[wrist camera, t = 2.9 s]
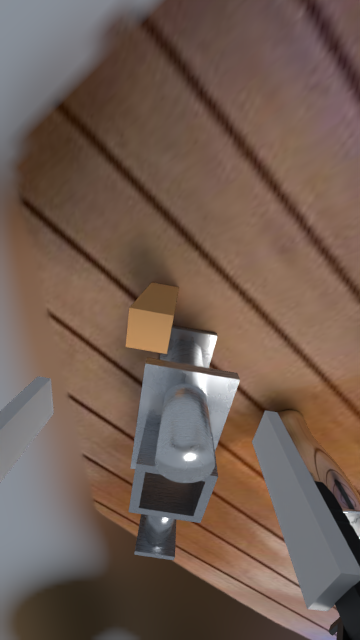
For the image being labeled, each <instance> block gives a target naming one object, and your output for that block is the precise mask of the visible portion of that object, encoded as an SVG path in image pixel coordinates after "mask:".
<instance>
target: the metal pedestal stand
mask: <svg viewBox="0 0 360 640" xmlns="http://www.w3.org/2000/svg"><path fill="white" fill-rule="evenodd" d="M216 339H217V333H212V332H206V331H201V330H195V329H190V328H184V327H179V326H173V325H172V329H171V334H170V340H169V345H168V350H167V354H164V353H161V354H160V359H154V358H148V357H147V360H146V363H145V370H144V377H143V384H142V391H141V398H140V405H139V413H138V420H137V427H136V434H135V441H134V448H133V455H132V462H131V468H132V469H135V468H136V462H137V458H138V453H139V449H140V445H141V441H142V436H143V432H144V428H145V423H146V422H148V423H154V424H160V430H159V437H158V444H157V450H156V457H155V466H156V468H157V470H158V471H159V473H160V474H161V475H163V476H164V477H165V478H167V479H169V480H172V481H175V482H179V483H194V482H198V481H201V480H203V479H205V478H207V477H208V476H209V475H210V474H211V473H212V472H213V470H214V467H215V459H214V451H213V443H212V434H213V441H214V449H216V447H217V444H218V441H219V438H220V435H221V432H222V429H223V427H224V424H225V421H226V418H227V415H228V412H229V409H230V407H231V404H232V401H233V398H234V395H235V392H236V389H237V387H238V384H239V381H240V379H239V377H238V374H237V373H234V372H228V371H222V370H217V369H211V368H209V365H210V361H211V358H212V354H213V350H214V347H215V343H216ZM211 433H212V434H211Z"/></svg>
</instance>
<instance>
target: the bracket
mask: <svg viewBox="0 0 360 640" xmlns="http://www.w3.org/2000/svg"><path fill="white" fill-rule="evenodd" d="M159 430H160V424H154V423H148V422H146V423H145V428H144V432H143V436H142V441H141V445H140V449H139V453H138V458H137V462H136V468H135V474H134V481H133V487H132V494H131V500H130V507H129V512H132V513H138V514H141V519H140V524H139V530H138V536H137V542H136V548H135V555H143V556H149V557H156V558H163V559H169V560H174V558H175V538H176V519H178V520H185V521H191V522H198V523H200V522H201V520H202V517H203V514H204V512H205V509H206V507H207V504H208V501H209V499H210V496H211V494H212V491H213V488H214V486H215V483H216V481H217V478H218V473H217V465H216V457H215V449H214V441H213V434H212V433H211V434H212V443H213V451H214V459H215V467H214V470H213V472H212V473H211V474H210V475H209V476H208V477H207V478H205V479H203V480H201V481H198V482H194V483H179V482H175V481H172V480H169V479H167V478H165V477H164V476H163V475H161V474H160V473H159V471H158V470H157V468H156V466H155V457H156V450H157V444H158V437H159Z"/></svg>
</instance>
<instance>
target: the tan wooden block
mask: <svg viewBox="0 0 360 640" xmlns="http://www.w3.org/2000/svg"><path fill="white" fill-rule="evenodd" d="M178 291H179V287H174V286H169V285H163V284H158V283H153V282H152V283H151V284H150V285H149V286H148V287H147V288H146V289H145V290H144V292H143V293H142V294H141V295H140V296H139V297H138V298H137V300H136V301H135V302H134V303H133V304H132V305H131V306H130V308H129V317H128V327H127V338H126V347H130V348H135V349H141V350H147V351H152V352H158V353H164V354H167V350H168V345H169V340H170V334H171V329H172V324H173V318H174V313H175V307H176V302H177V296H178Z"/></svg>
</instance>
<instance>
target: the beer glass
mask: <svg viewBox="0 0 360 640" xmlns="http://www.w3.org/2000/svg"><path fill="white" fill-rule="evenodd" d="M278 415H279V417H280V419H281V420H282V422H283V424H284V426H285V428H286V430H287V432H288V434H289V435H290V437H291V439H292V441H293V443H294V445H295V447H296V449H297V450H298V452H299V454H300V456H301V458H302V460H303V462H304V464H305V465H306V467H307V469H308V471H309V473H310V475H311V477H312V479H313V480H314V481H318V482H323V483H324V484H325V485H326V486H327V488H328V489H329V490H330V491H331V492H332V493H333V494H334V496H335V497H336V499H337V501H338V503H339V504H340V506H341V508H342V509H343V513H345V515H346V516H347V518H348V520H349V521H350V525H352V527H353V528H354V530H355V532H356V533H357V535H358V537H359V539H360V496H359V495H358V493H357V491H356V490H355V488H354V487H353V485H352V483H351V482H350V480H349V479H348V477H347V476H346V475H345V473H344V472H343V470H342V469H341V468H340V466H339V465H338V464H337V463H336V462H335V460H334V459H333V458H332V457H331V456H330V455H329V453H328V452H327V451H326V450H325V449H324V448H323V447H322V446H321V445H320V443H319V442H318V441H317V440H316V439H315V438H314V436H313V435H312V433H311V432H310V430H309V428H308V426H307V423H306V421H305V419H304V417H303V415H302V414H301V413H299V412H298V411H295V410H284V411H281V412H279V413H278Z"/></svg>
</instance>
